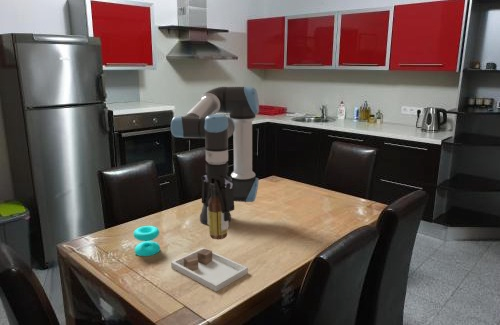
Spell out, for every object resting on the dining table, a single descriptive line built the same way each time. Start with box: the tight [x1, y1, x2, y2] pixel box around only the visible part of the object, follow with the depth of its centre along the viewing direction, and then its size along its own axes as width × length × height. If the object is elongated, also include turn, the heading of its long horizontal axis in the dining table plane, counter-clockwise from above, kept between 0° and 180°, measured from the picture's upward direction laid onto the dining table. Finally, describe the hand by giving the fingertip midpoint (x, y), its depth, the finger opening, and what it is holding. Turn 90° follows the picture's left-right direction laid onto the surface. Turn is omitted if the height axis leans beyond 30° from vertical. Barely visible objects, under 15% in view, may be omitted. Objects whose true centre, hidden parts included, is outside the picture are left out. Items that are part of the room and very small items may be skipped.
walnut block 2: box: [197, 248, 213, 265], centre depth 149 cm, size 4×4×4 cm
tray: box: [170, 246, 249, 293], centre depth 143 cm, size 24×16×3 cm, turn 49°
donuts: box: [133, 225, 161, 257], centre depth 157 cm, size 10×10×10 cm
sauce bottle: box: [208, 183, 228, 240], centre depth 134 cm, size 7×6×20 cm
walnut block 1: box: [184, 255, 198, 271], centre depth 144 cm, size 4×4×4 cm
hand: (217, 226), depth 135 cm, fingers closed on sauce bottle, 6 cm apart
